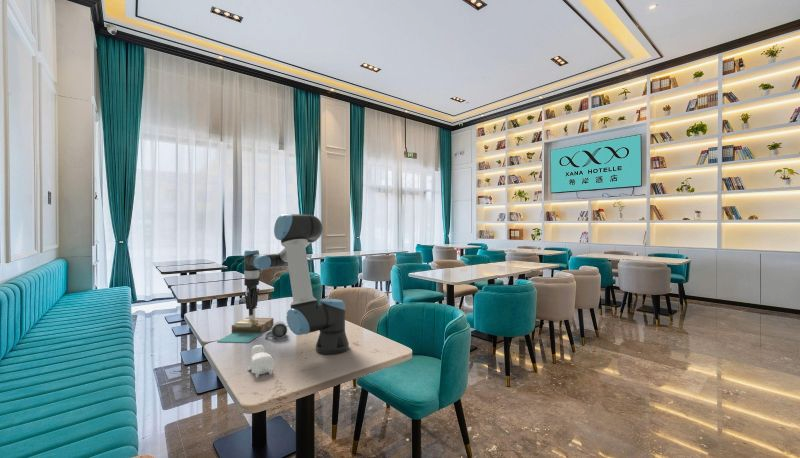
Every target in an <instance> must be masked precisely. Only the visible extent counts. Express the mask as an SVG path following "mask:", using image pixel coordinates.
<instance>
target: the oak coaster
mask: <svg viewBox="0 0 800 458" xmlns="http://www.w3.org/2000/svg"><path fill="white" fill-rule="evenodd" d="M235 323H236V327H252V326H254V325H255V324H257V323H258V319H245V318H243V319H241V320H239V321H238V322H235Z"/></svg>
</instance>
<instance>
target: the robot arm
mask: <svg viewBox="0 0 800 458" xmlns="http://www.w3.org/2000/svg"><path fill="white" fill-rule="evenodd" d="M323 231H324V229H323V224H322V221H321V220H320V219H319V218H318V217H317V216H316V215H313V214H299V213H287V214H286V213H285V214H284V213H283V214H281V215H279V216H278V217H277V219H276V220H275V223H274V227H273V234H274V237H275V238H276V240H278V241H280V245H281V246H282V247H284V248H283V249H282V250H281V251H280V252H279V253H265V254H264V253H263V254H260V250H258V249H246V250H244V254H243V258H244V259H243V260H244V261H243V263H244V264H243V265H244V268H243V269H244V270H243V274H244V276H243V277H244V279H243V281H244V286H246V291H245V292H243V295H244V300H245V301H244V302H245V306H246V307H245V308H246V309H247V310H248V318H249V319H255V318H256V309H257V308H258V307H257V306H258V301H259V292H260V288H258V286H260V270H267V269H273V268H282V267H283V268H284V267H285V268H287V267H288V273H289V274H288V275H289V280H290V287H291V294H292V302H291V304H290V306H289V307H290V308H289V309H288V310H287V312H286V323H287V326H288V328H289V330H290V331H291V332H292V333H293V334H294V335H295V336H302V335H309V334H312V333H314V332H318V331H319V334H318V337H317V340H316V344H315V352H317V353H319V354H321V355H338V354H343V353H345V352H347V351H348V350H349V348H350V345H349V344H350V343H349V340H348V337H347V334H346V303H345V301H344V300H342V299H336V298H321V299H320V300H319V302H318V299H317V298H315V297H314V293H313V287H312V281H311V275H310V269H309V263H308V262H309V261H308V257H307V250H306V248H307V247H308V246H309V245H310V244H311V243H315V242H317V240H318V239H320V237H321V236H322V233H323Z"/></svg>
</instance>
